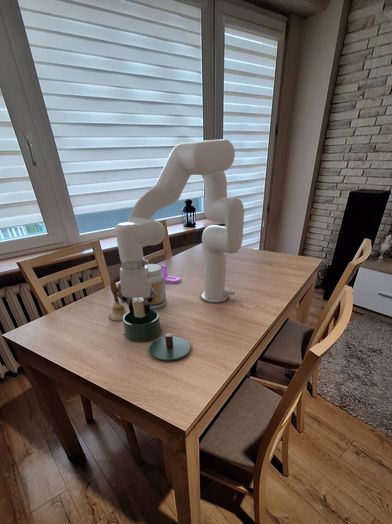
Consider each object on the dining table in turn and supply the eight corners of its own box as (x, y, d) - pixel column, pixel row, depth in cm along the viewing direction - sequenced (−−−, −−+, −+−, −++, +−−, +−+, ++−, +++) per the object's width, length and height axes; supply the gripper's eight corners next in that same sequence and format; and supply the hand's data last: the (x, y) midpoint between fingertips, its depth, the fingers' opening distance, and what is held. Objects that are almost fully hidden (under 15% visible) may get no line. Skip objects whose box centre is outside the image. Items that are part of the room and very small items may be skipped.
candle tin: (159, 322, 112) (157, 306, 108) (162, 339, 101) (160, 322, 97) (126, 326, 110) (123, 310, 106) (125, 344, 99) (122, 327, 95)
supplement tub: (134, 307, 123) (128, 270, 113) (147, 297, 132) (143, 262, 123) (159, 311, 120) (155, 273, 110) (170, 300, 129) (167, 264, 119)
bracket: (156, 280, 151) (155, 267, 147) (161, 276, 155) (160, 264, 151) (176, 283, 146) (175, 270, 142) (181, 280, 150) (181, 267, 146)
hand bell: (120, 322, 112) (112, 285, 103) (105, 317, 116) (97, 281, 107) (134, 314, 118) (128, 278, 109) (120, 310, 122) (113, 275, 112)
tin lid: (186, 336, 102) (186, 322, 99) (193, 359, 91) (193, 343, 88) (148, 341, 100) (146, 327, 97) (151, 364, 89) (148, 349, 85)
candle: (147, 311, 103) (145, 294, 99) (145, 317, 99) (142, 300, 95) (135, 311, 103) (133, 294, 99) (132, 317, 99) (129, 300, 95)
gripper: (160, 260, 93) (164, 309, 103) (111, 260, 94) (120, 308, 104) (156, 267, 87) (161, 318, 97) (103, 267, 88) (114, 318, 98)
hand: (140, 313), depth 101 cm, fingers closed on candle, 4 cm apart
